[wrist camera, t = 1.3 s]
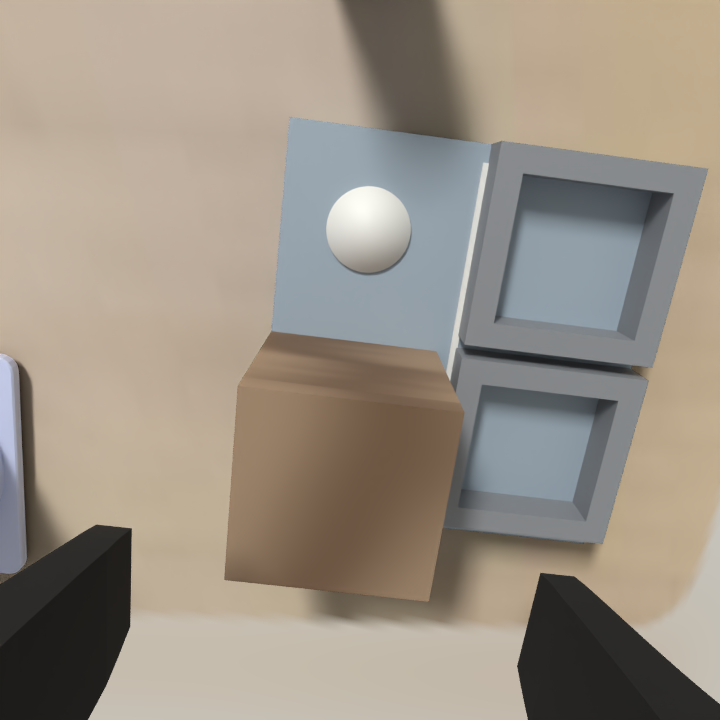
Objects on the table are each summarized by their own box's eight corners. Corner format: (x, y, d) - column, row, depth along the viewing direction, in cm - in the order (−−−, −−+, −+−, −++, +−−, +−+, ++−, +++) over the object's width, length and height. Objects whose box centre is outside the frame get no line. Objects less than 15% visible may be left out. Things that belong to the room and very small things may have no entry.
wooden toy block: (259, 480, 19) (224, 579, 14) (271, 330, 17) (237, 385, 13) (411, 497, 19) (428, 602, 14) (436, 351, 18) (464, 412, 13)
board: (261, 492, 20) (241, 552, 17) (293, 121, 17) (276, 104, 13) (573, 526, 20) (615, 593, 17) (667, 171, 17) (742, 167, 14)
